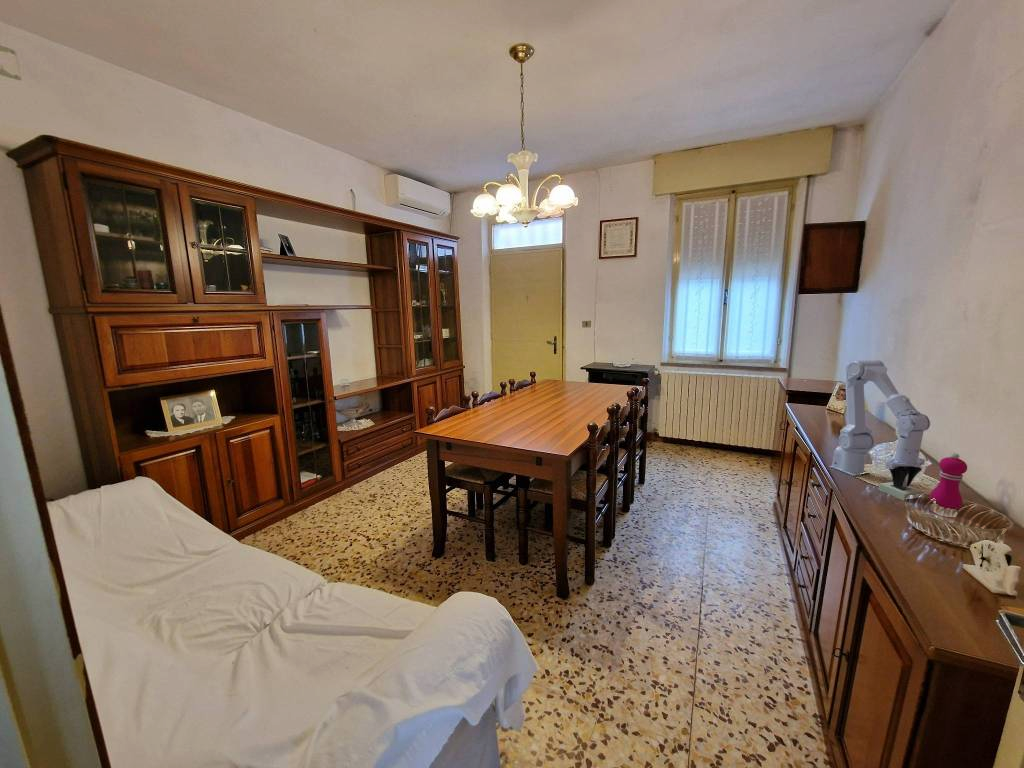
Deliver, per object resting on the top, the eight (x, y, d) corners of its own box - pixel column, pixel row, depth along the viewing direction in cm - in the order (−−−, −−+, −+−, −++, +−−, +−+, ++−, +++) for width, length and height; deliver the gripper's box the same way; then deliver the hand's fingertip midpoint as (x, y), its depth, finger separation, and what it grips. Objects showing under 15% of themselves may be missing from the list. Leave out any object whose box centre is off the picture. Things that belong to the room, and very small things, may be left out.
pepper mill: (935, 516, 129) (947, 456, 125) (921, 505, 136) (933, 448, 132) (965, 520, 127) (979, 459, 123) (950, 509, 133) (963, 450, 129)
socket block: (878, 490, 147) (879, 483, 146) (895, 487, 148) (896, 481, 148) (903, 500, 139) (905, 493, 139) (921, 497, 141) (923, 491, 140)
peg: (892, 489, 145) (896, 468, 143) (898, 488, 145) (902, 467, 144) (901, 493, 142) (906, 471, 140) (907, 492, 143) (911, 470, 141)
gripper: (905, 454, 135) (897, 493, 138) (938, 450, 138) (930, 488, 141) (881, 447, 142) (875, 484, 144) (914, 443, 145) (907, 479, 148)
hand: (901, 485), depth 143 cm, fingers closed on peg, 3 cm apart
